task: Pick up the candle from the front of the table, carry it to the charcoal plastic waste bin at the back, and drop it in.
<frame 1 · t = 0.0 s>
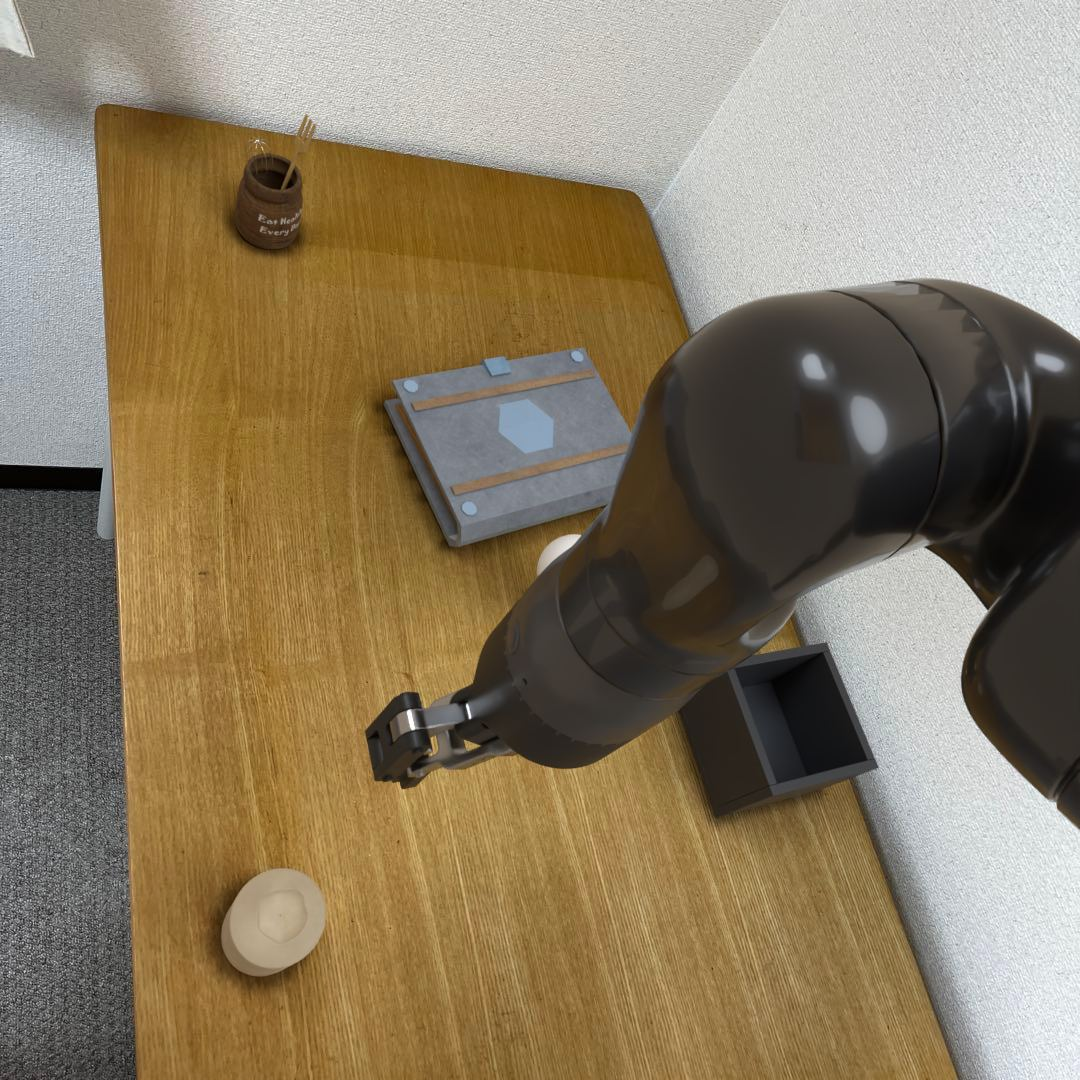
hand: (477, 754, 50), 20 cm above the table, tool pointing down, fingers open, 8 cm apart
candle: (263, 931, 60), on the table
utensil holder: (267, 230, 88), on the table
book: (513, 455, 86), on the table
bin: (744, 742, 80), on the table
lightbulb: (539, 611, 79), on the table
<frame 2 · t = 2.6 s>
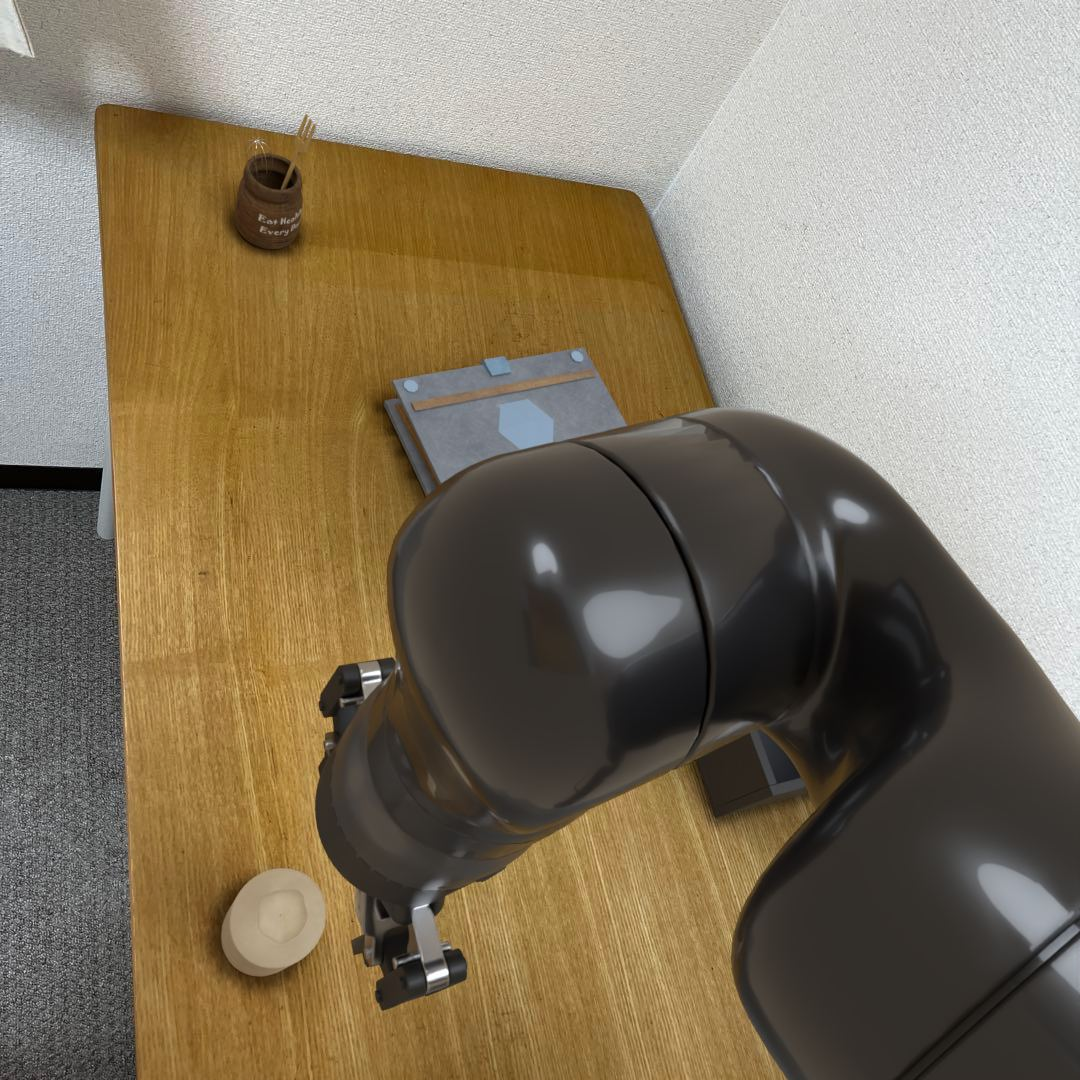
hand: (355, 854, 46), 20 cm above the table, tool pointing down, fingers open, 8 cm apart
nothing on the table moved.
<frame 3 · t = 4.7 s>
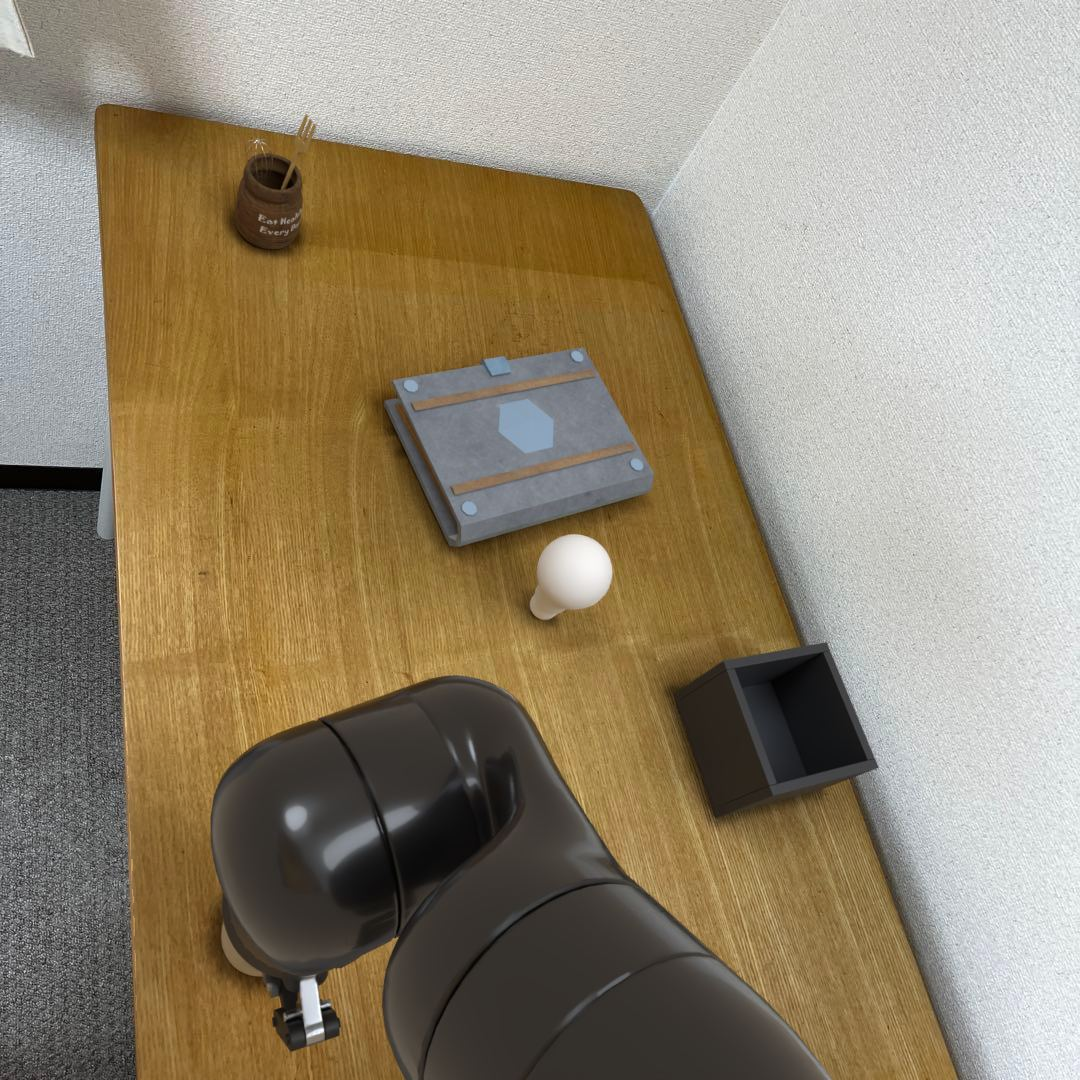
hand: (273, 922, 56), 6 cm above the table, tool pointing down, fingers closed on candle, 5 cm apart
candle: (263, 931, 60), on the table, touching gripper
everything else where it was.
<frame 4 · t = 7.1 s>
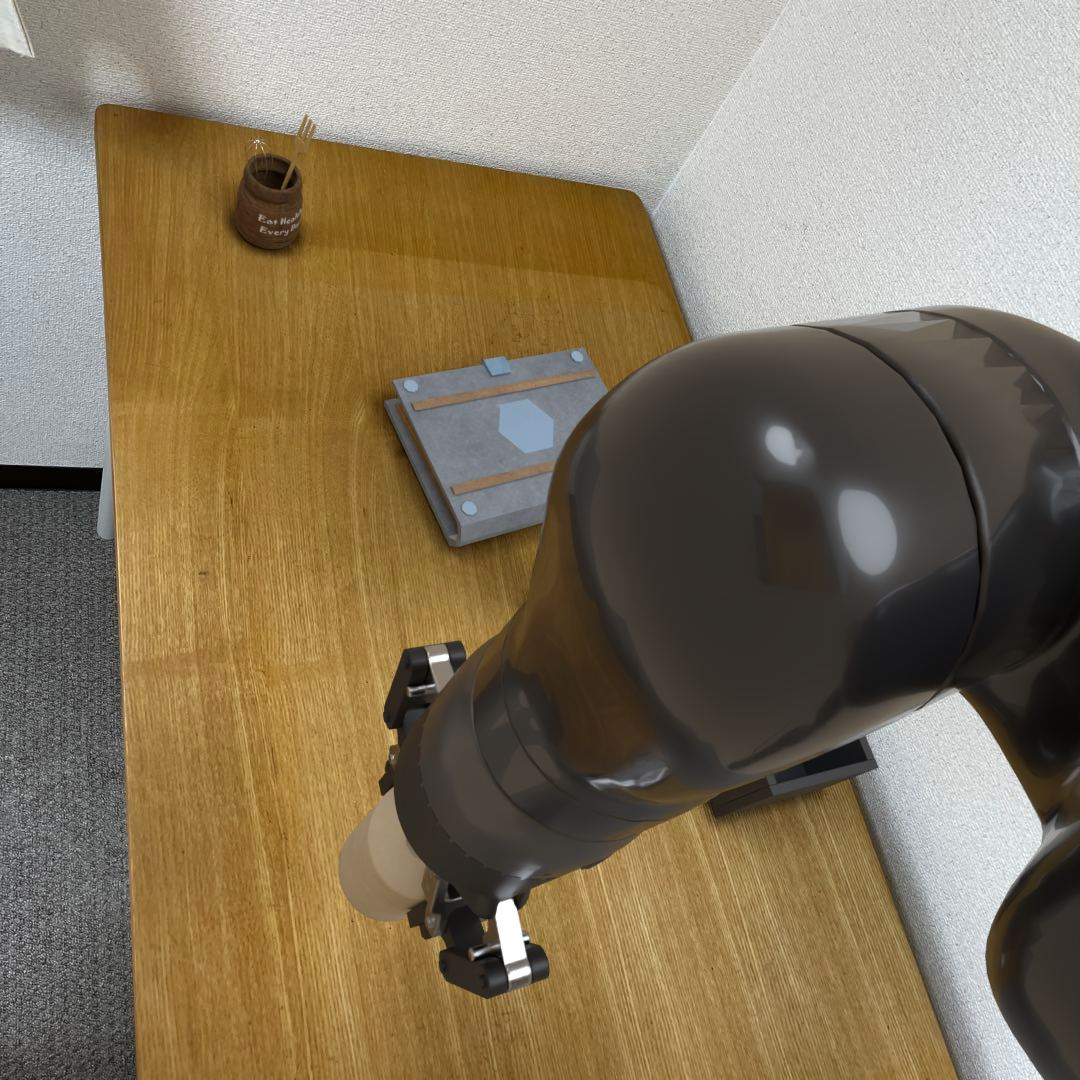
hand: (414, 848, 43), 23 cm above the table, tool pointing down, fingers closed on candle, 5 cm apart
candle: (388, 867, 48), point 17 cm above the table, touching gripper
everything else where it was.
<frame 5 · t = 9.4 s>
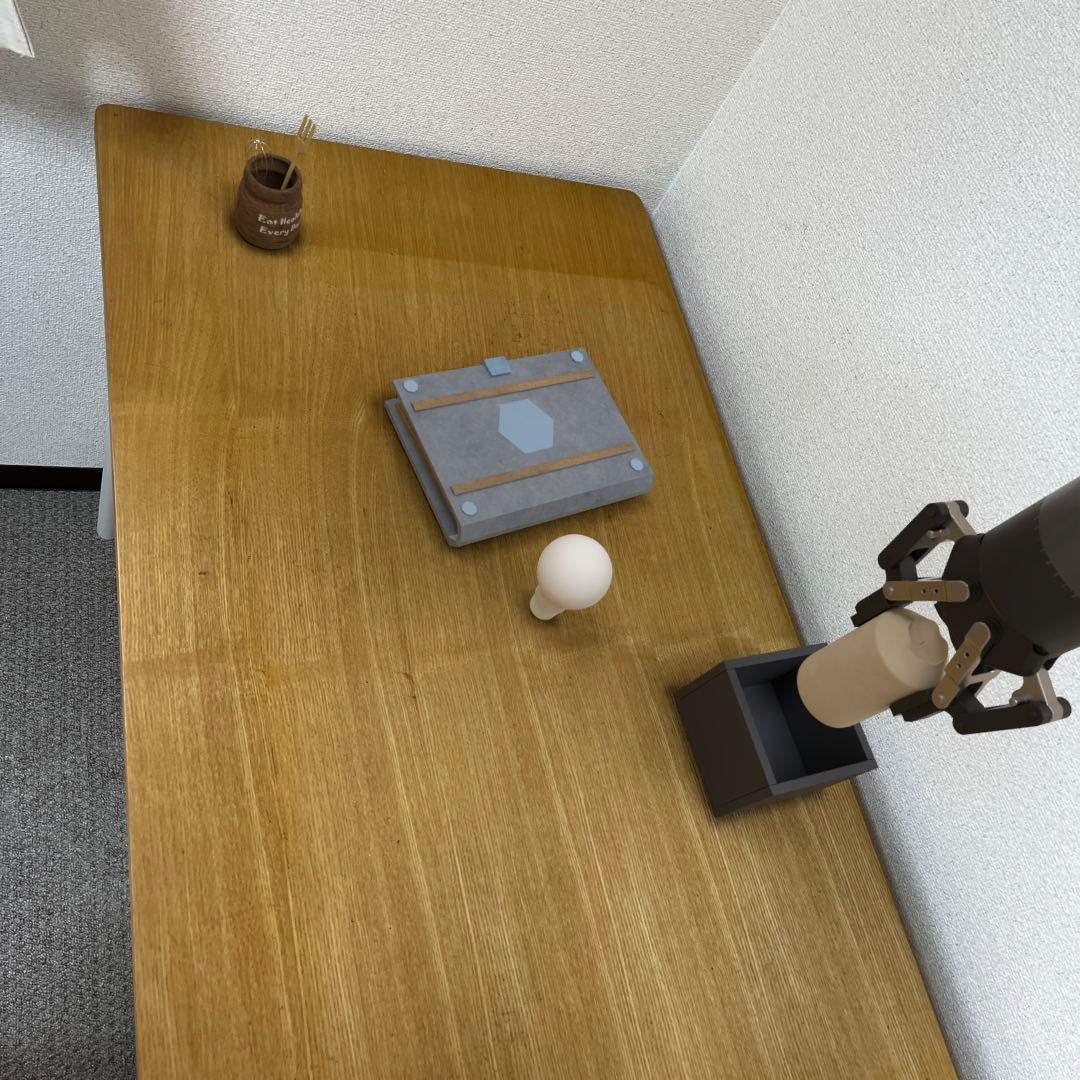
hand: (881, 664, 59), 24 cm above the table, tool pointing down, fingers closed on candle, 5 cm apart
candle: (827, 691, 64), point 18 cm above the table, touching gripper
everything else where it was.
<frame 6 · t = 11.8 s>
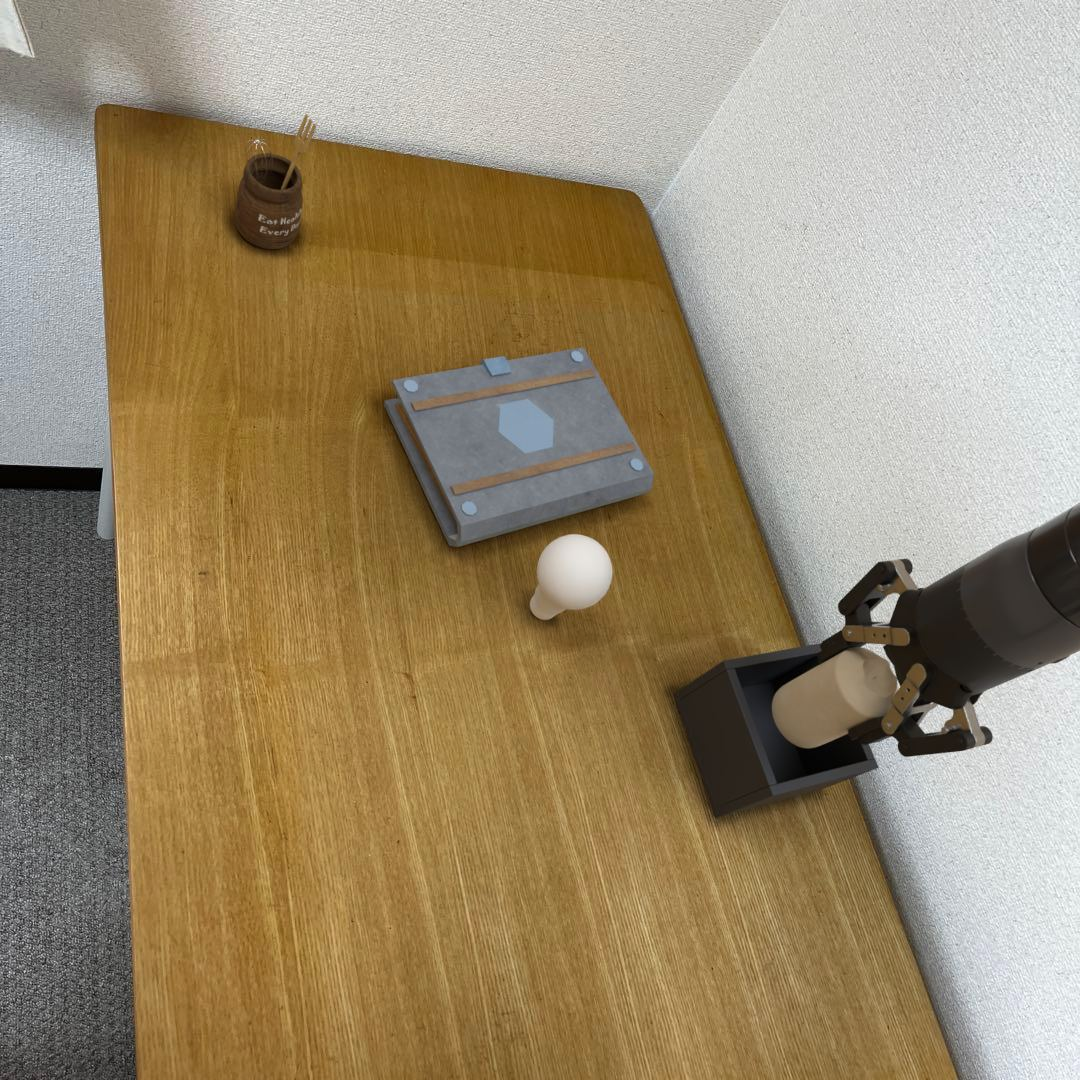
hand: (842, 695, 69), 14 cm above the table, tool pointing down, fingers closed on candle, 5 cm apart
candle: (798, 716, 74), point 8 cm above the table, touching gripper
everything else where it was.
when the fingers open (7 cm above the table, at t = 14.1 s): candle drops 1 cm, resting on bin.
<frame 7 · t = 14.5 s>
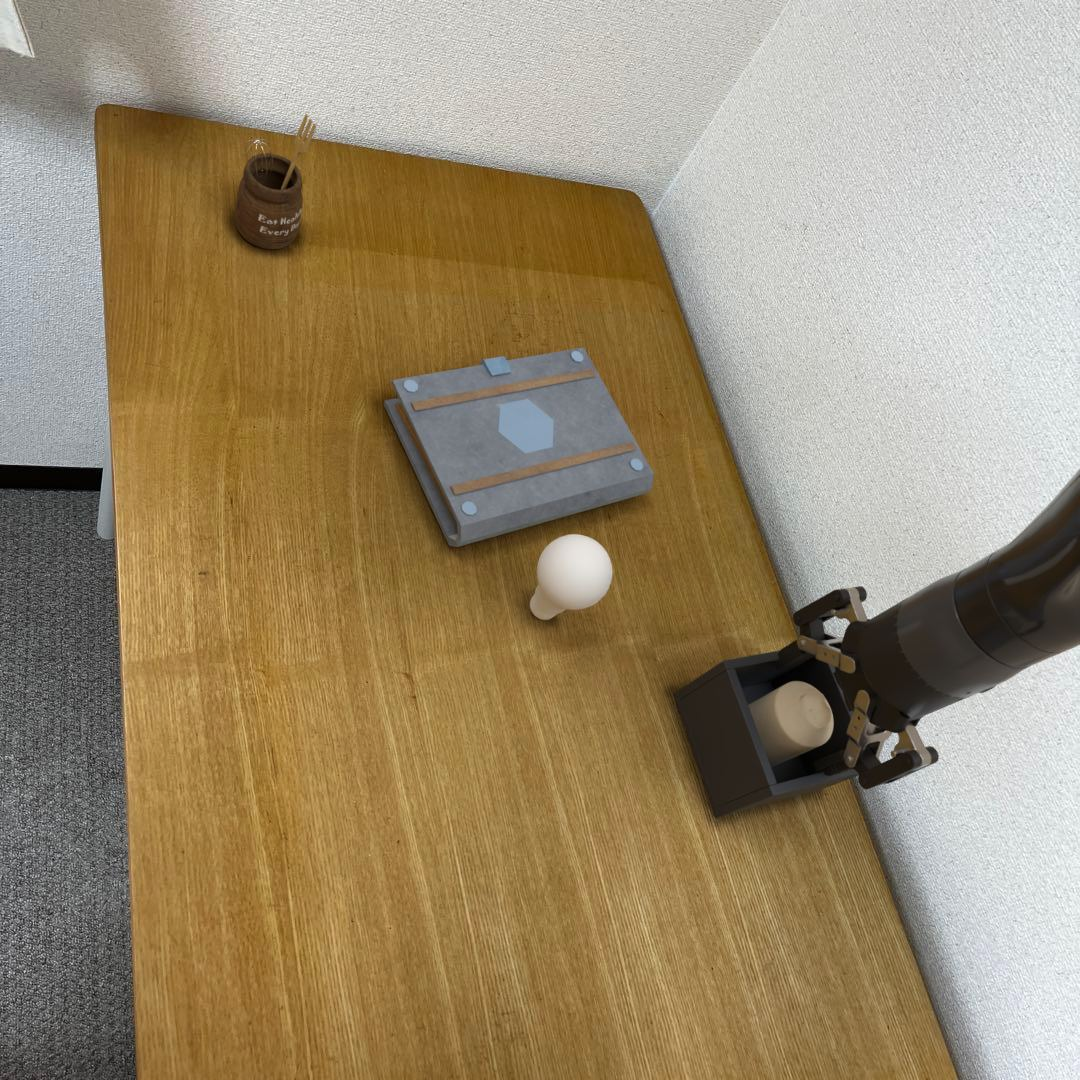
hand: (803, 714, 73), 9 cm above the table, tool pointing down, fingers open, 8 cm apart
candle: (746, 742, 80), resting on bin
everything else where it was.
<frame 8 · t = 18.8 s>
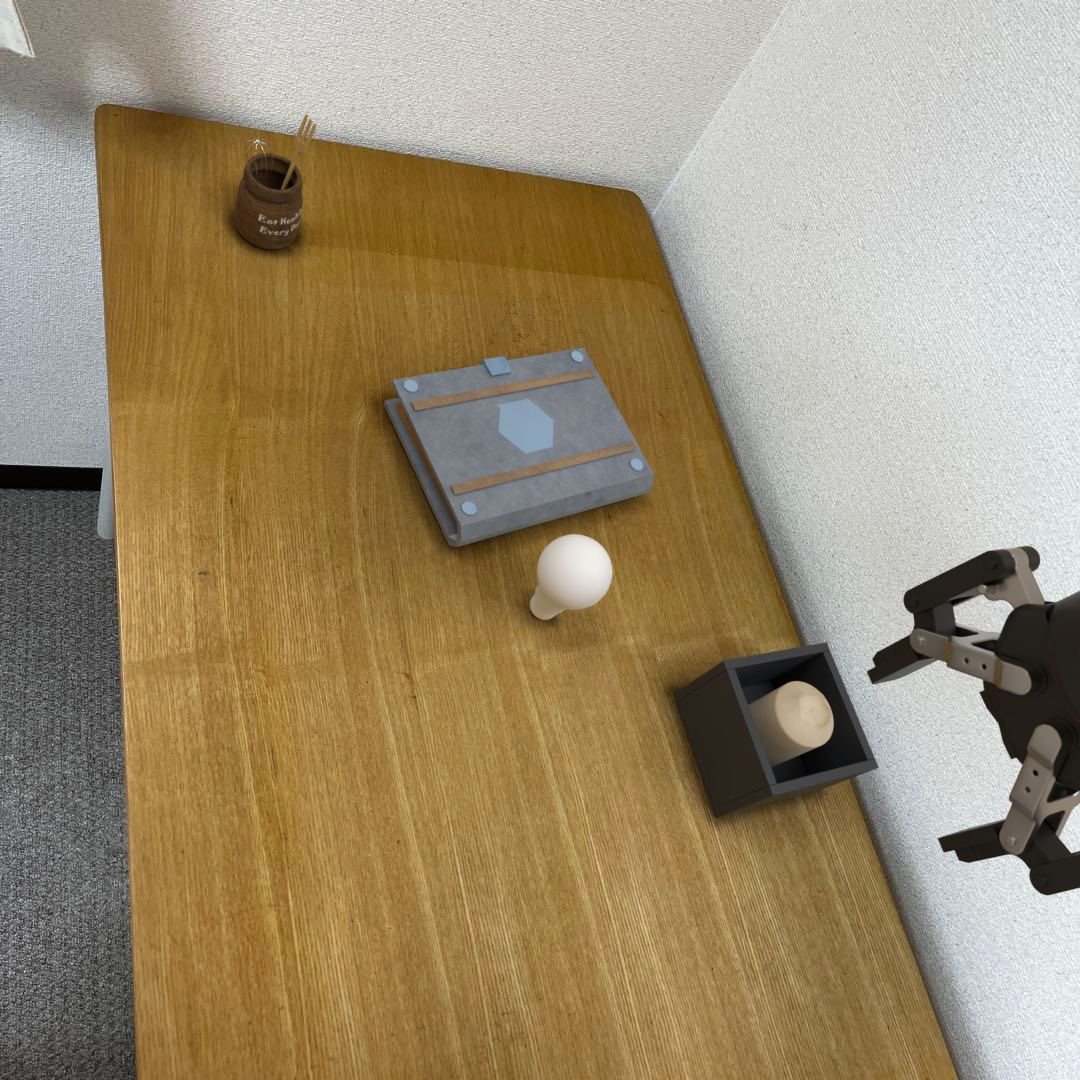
hand: (915, 756, 45), 32 cm above the table, tool pointing down, fingers open, 8 cm apart
nothing on the table moved.
at the end: candle inside the target area in the bin (0.1 cm from its centre), point 0.4 cm above the bin's base; the gripper is holding nothing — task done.
